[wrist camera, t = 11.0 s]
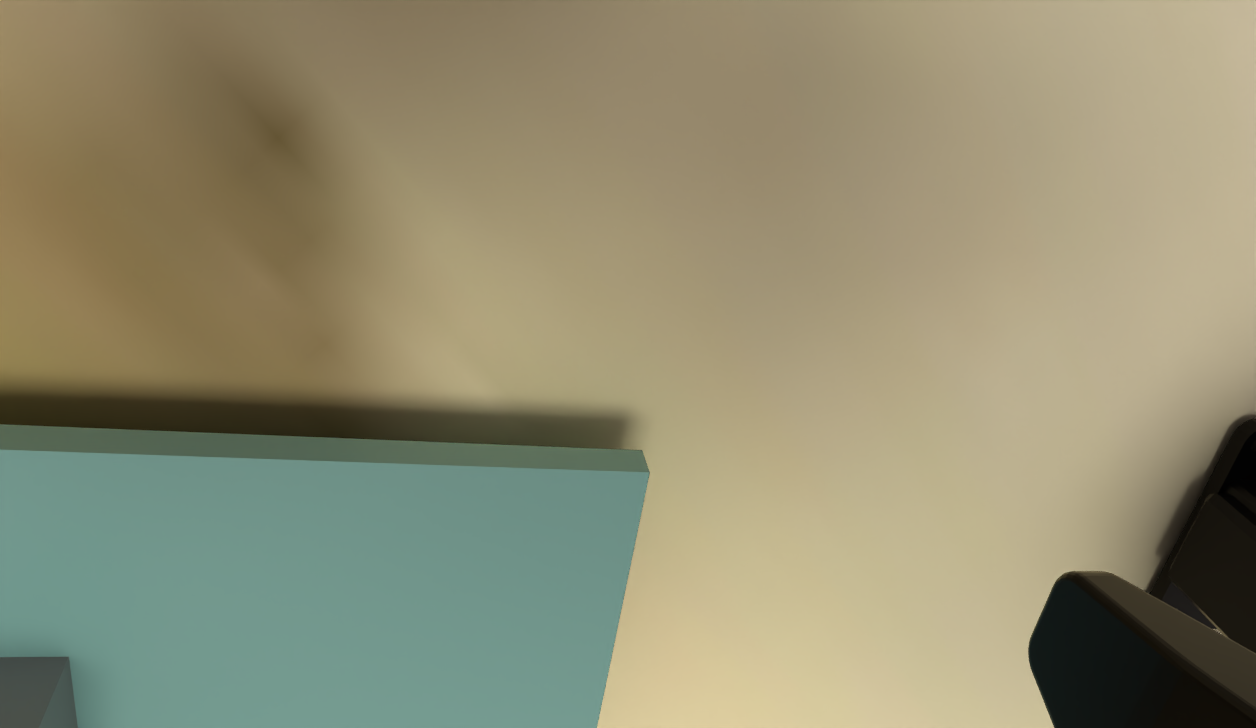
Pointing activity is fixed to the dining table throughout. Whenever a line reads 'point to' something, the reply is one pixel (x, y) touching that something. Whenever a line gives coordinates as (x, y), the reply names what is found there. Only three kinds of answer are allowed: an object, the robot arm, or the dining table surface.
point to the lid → (308, 580)
